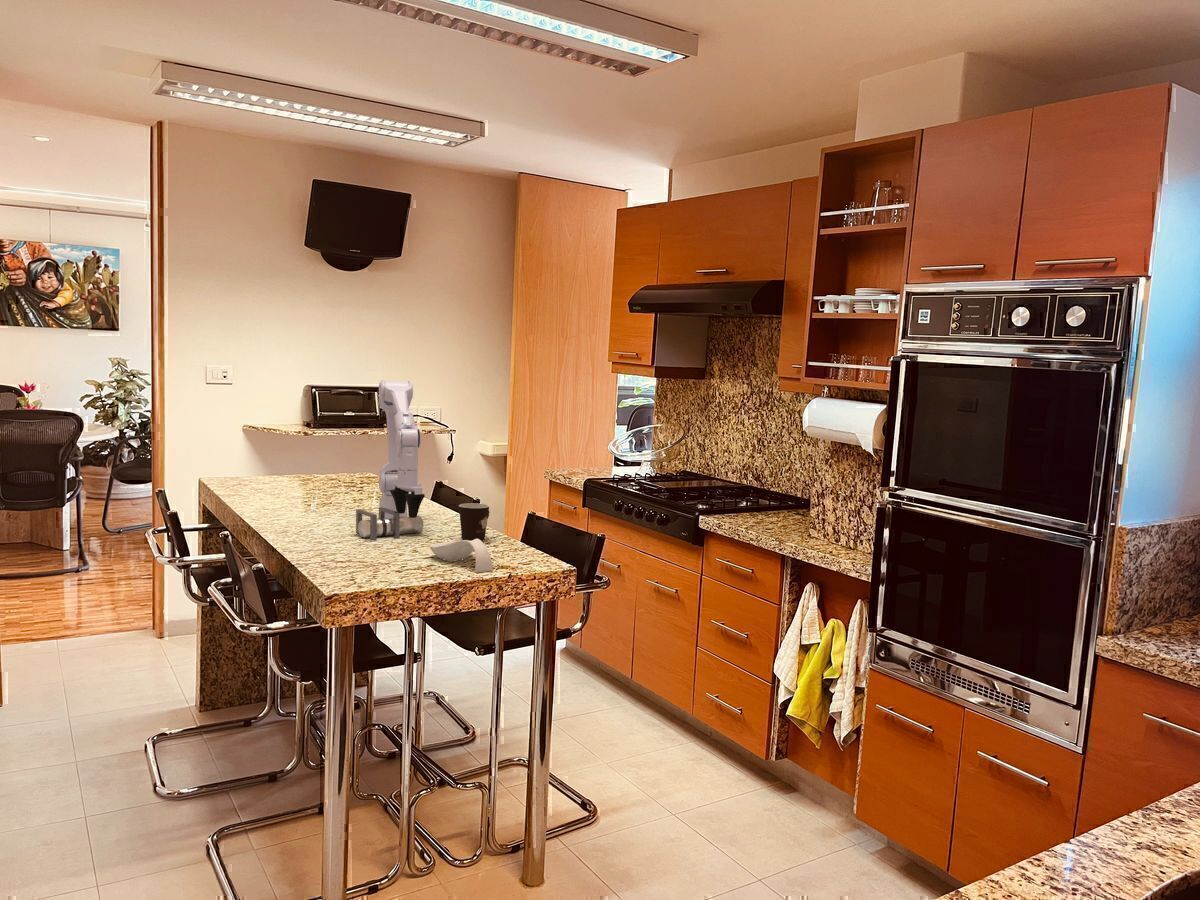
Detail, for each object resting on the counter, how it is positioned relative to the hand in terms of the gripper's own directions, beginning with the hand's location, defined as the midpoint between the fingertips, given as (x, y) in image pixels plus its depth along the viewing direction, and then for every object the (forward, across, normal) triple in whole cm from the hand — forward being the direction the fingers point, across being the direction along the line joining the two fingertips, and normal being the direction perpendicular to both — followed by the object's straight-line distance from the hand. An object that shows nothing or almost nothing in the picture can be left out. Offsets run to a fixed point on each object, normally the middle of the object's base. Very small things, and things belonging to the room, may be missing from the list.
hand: (406, 515), depth 263 cm
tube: (+5, 0, +5) cm, 7 cm away
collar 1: (+5, 0, +13) cm, 14 cm away
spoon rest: (+5, -41, +5) cm, 42 cm away
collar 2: (+5, 0, +6) cm, 8 cm away
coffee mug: (+5, -18, -13) cm, 23 cm away
